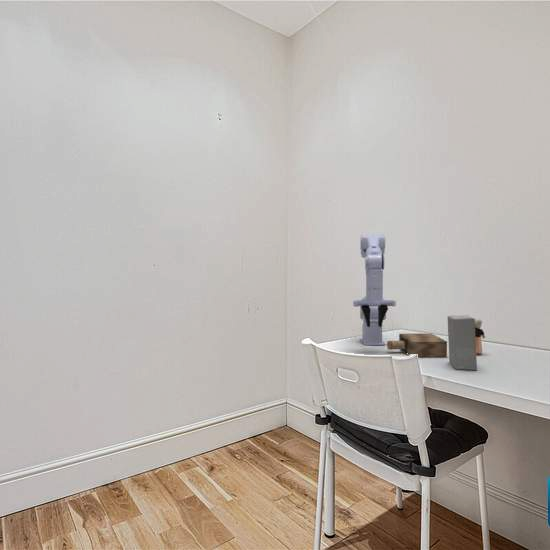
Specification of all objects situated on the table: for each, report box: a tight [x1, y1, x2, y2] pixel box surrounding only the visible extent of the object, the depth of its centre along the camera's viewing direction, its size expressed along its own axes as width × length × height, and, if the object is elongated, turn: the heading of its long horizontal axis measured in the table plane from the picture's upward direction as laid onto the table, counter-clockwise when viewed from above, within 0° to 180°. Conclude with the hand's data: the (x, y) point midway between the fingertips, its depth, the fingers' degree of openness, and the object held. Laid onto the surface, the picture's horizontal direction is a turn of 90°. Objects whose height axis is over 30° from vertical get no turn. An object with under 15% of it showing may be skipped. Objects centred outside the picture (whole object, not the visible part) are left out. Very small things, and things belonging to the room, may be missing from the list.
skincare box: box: [447, 314, 478, 371], centre depth 128 cm, size 8×7×16 cm
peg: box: [386, 340, 405, 351], centre depth 146 cm, size 12×3×3 cm, turn 90°
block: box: [398, 332, 448, 359], centre depth 146 cm, size 13×14×5 cm
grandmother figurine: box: [475, 317, 486, 356], centre depth 143 cm, size 8×4×13 cm, turn 122°
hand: (374, 326), depth 146 cm, fingers open, 3 cm apart
